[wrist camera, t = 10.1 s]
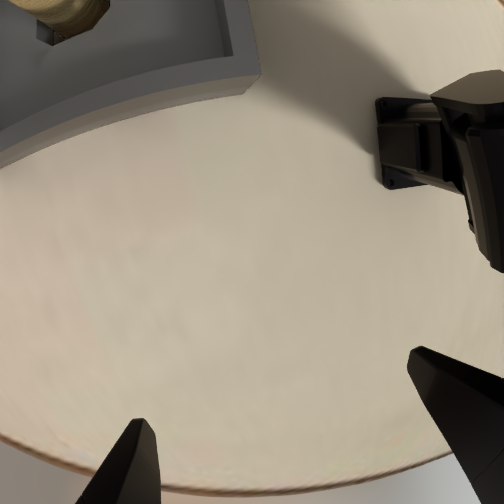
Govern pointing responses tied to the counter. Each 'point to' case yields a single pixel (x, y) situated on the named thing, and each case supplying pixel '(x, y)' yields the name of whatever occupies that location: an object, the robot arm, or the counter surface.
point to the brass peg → (66, 14)
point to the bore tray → (118, 67)
